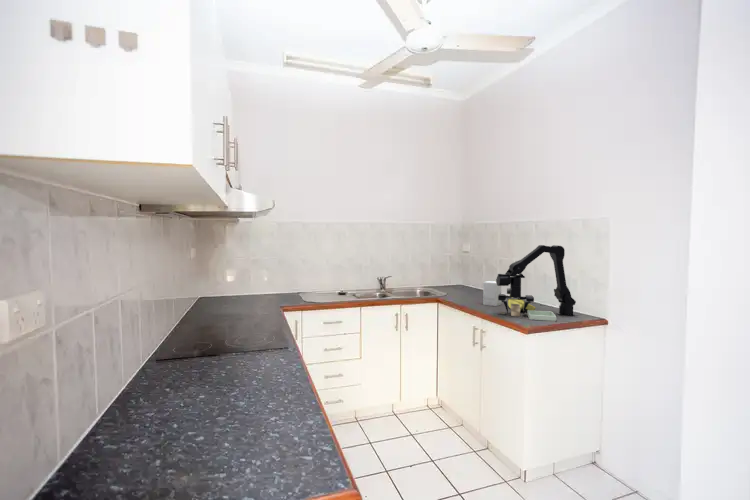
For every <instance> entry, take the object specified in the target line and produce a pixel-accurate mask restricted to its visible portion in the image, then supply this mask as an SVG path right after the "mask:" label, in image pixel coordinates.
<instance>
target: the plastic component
mask: <svg viewBox="0 0 750 500" xmlns="http://www.w3.org/2000/svg"><path fill="white" fill-rule="evenodd" d="M512 298H513V297H512ZM511 304H519V305H520V312H521V311H522V310H523V306H524V300H514V299H507V306H508V307H509V309H511ZM536 309H537V307H536V306H534V305H532V304H531V303H529V304H528V305H527V307H526V309H525V310H526V311H527V310H531V311H536Z"/></svg>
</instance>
